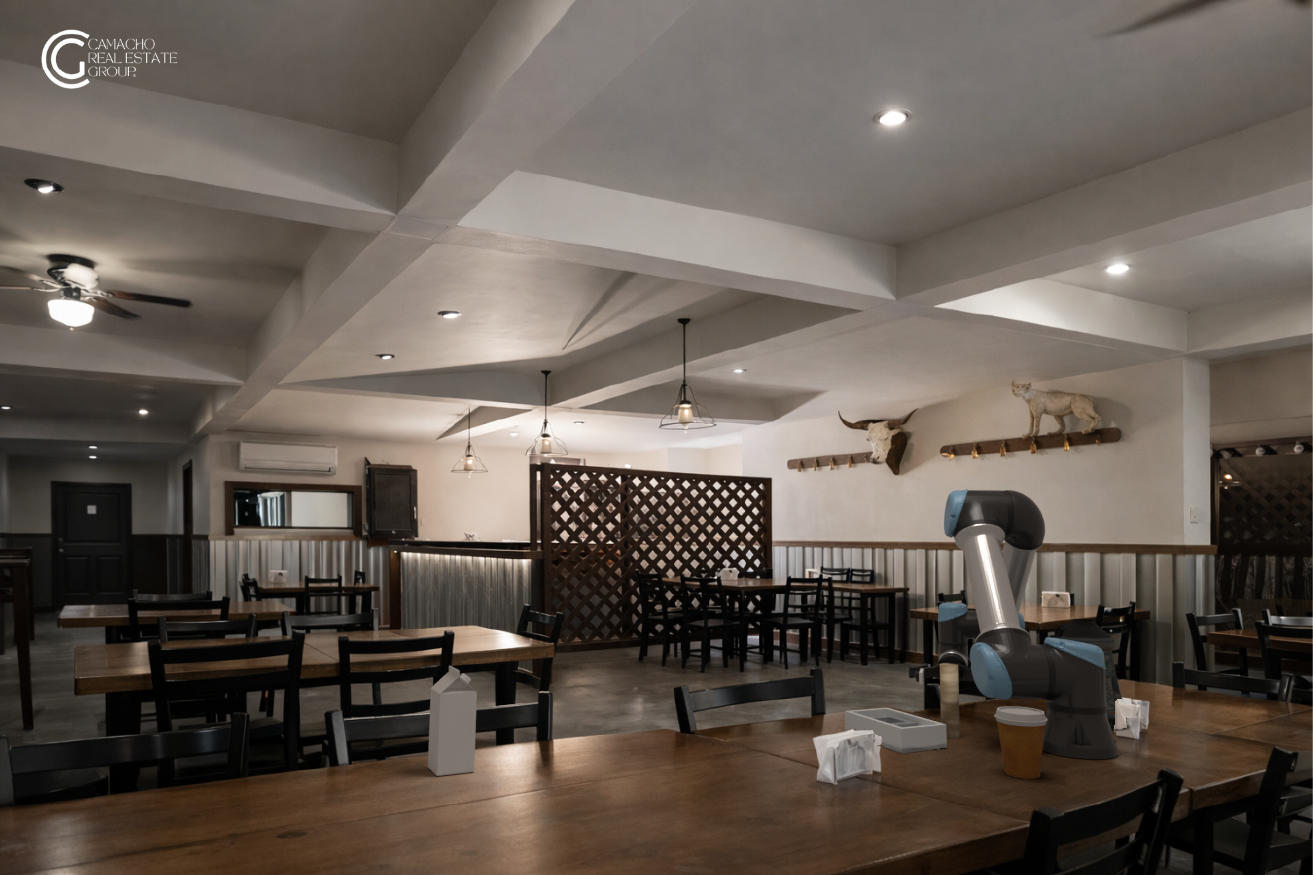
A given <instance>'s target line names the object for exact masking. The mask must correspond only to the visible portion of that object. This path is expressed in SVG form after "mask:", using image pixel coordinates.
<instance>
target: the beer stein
mask: <svg viewBox="0 0 1313 875" xmlns="http://www.w3.org/2000/svg"><path fill="white" fill-rule="evenodd" d="M1047 637H1049V638H1059V639H1066V640H1072V641H1078V642H1083V643H1088V644H1092V645H1095V646H1098V647H1099V648H1101V650H1102V651H1103V653H1104V663H1105V667H1106V670H1105V680H1106V712H1107V719H1108V722H1109V724H1110V727H1111V730H1112V731H1114V730H1113V729H1114V725H1115V701H1116V700H1117V699H1122V700H1123V696H1122V693H1121V690H1120V686H1119V681H1118V677H1117V672H1116V666H1115V661H1114V655H1113V648H1114V647H1115V639H1114V638H1113V637H1112V636H1111V635H1110V634H1109V633H1108V632H1106V630H1103V629H1102V628H1101V627H1100V626H1099V625H1098V624H1097V623H1096V621H1095V619H1088V618H1087V619H1085V618H1084V619H1083V618H1074V619H1072V620H1071V622H1069V623H1063V624H1062V623H1061V624H1058V625H1057V626H1056V627H1055V629H1054V630H1053V634H1049V636H1047Z"/></svg>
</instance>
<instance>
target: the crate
mask: <svg viewBox="0 0 1313 875" xmlns="http://www.w3.org/2000/svg"><path fill="white" fill-rule="evenodd" d="M851 729H856V730H873V731H874V733H875V734H876V735H878V736H881V737H882V746H881V747H883V748H886V749H887V750H888V749H889V750H892V751H894V752H896V753H899V754H908V753H914V752H915V753H916V752H927V750H928V751H934V750H933V749H937V750H941V749H940V748H947V747H948V744H947V740H948V738H947V734H946V724H943V723H941V722H939V721H934V720H932V719H928V718H926V717H925V718H924V717H921V716H918V715H914V714H911V713H907V712H904V711H901V710H897V709H893V708H890V707H880V708H879V707H878V708H868V709H865V708H864V709H856V710H854V709H852V710H845V711H844V732H845V731H847V730H851Z"/></svg>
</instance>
